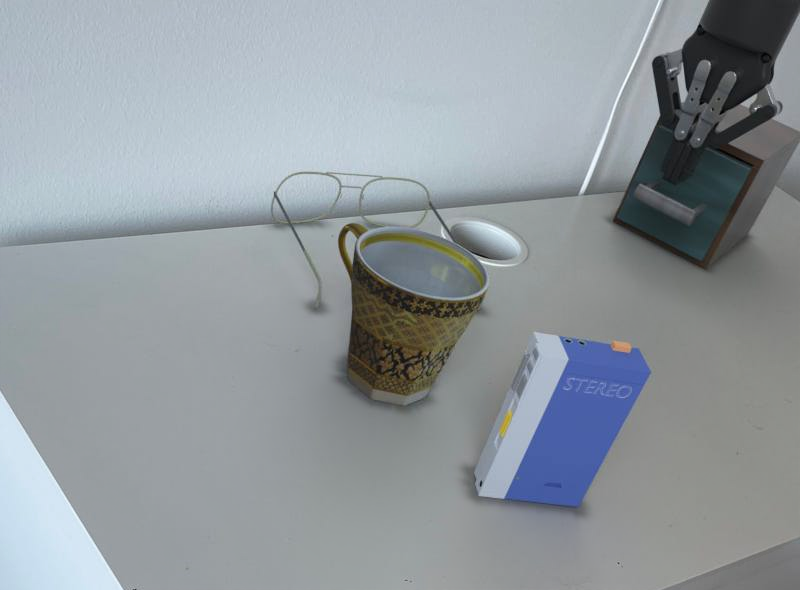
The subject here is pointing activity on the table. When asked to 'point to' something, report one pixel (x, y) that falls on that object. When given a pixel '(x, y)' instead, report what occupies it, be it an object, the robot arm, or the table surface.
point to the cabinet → (769, 158)
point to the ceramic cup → (406, 308)
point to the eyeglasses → (359, 212)
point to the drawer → (684, 197)
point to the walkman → (559, 419)
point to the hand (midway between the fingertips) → (671, 180)
